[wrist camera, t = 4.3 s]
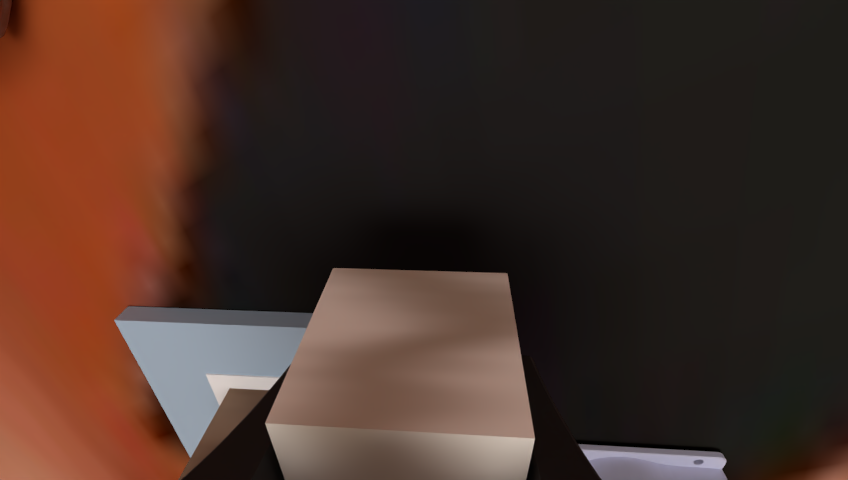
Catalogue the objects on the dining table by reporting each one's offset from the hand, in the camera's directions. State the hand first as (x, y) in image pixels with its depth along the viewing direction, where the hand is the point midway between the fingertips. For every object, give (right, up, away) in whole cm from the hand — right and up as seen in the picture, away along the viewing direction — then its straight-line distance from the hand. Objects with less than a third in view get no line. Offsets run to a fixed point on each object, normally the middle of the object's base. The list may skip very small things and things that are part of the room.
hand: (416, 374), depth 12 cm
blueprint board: (-7, -6, +12) cm, 15 cm away
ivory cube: (0, +1, +1) cm, 2 cm away
